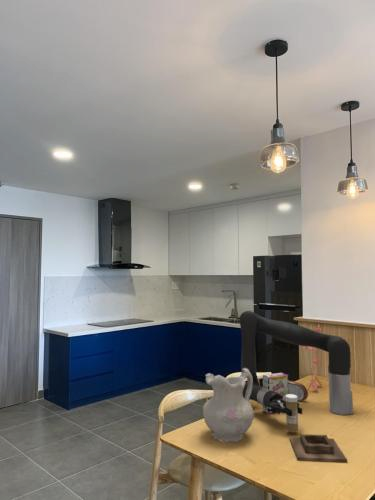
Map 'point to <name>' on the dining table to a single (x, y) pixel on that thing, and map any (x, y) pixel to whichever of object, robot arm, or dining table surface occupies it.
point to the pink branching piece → (314, 362)
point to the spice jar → (292, 420)
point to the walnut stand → (316, 448)
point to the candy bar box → (276, 385)
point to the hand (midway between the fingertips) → (296, 412)
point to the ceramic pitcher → (229, 407)
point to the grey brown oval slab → (297, 390)
